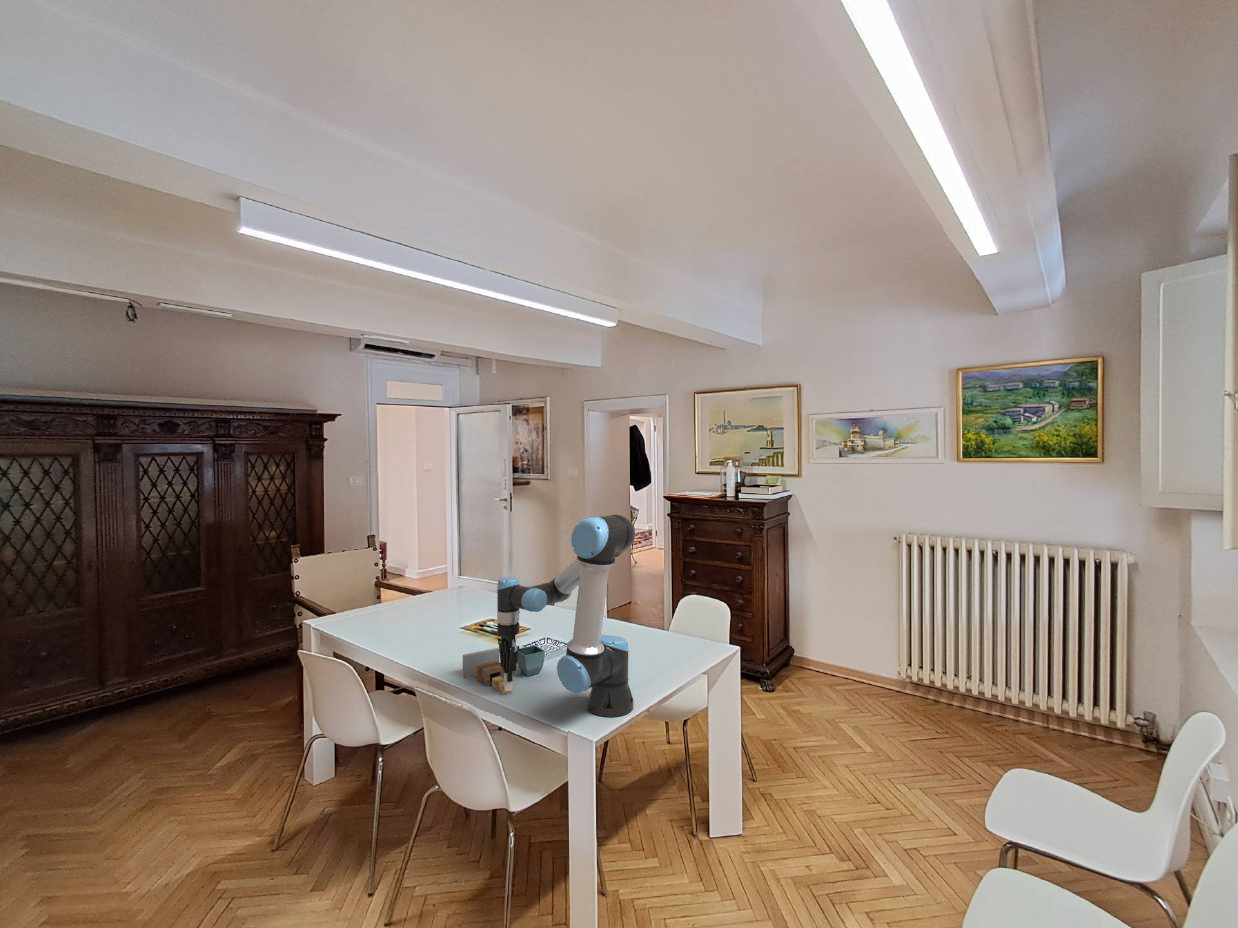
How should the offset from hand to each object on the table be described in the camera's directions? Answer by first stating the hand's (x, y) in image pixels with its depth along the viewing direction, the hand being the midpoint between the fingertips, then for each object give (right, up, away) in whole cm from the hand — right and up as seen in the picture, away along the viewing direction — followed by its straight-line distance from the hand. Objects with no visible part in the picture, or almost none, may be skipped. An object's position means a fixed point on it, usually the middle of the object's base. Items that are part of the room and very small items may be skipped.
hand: (508, 689), depth 199 cm
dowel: (-3, -2, +5) cm, 6 cm away
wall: (-14, -2, +20) cm, 25 cm away
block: (-9, -2, +13) cm, 16 cm away
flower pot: (+5, -2, +20) cm, 20 cm away
